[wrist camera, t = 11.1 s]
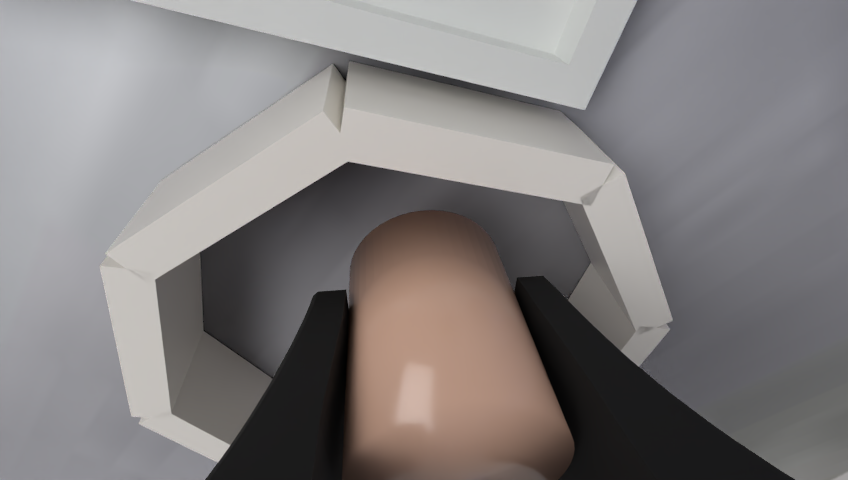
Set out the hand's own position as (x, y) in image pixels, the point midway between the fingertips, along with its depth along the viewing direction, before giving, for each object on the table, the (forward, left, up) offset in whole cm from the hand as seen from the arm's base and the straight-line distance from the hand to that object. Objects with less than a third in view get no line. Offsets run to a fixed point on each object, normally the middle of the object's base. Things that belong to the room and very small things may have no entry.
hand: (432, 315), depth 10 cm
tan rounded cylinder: (0, 0, -1) cm, 1 cm away
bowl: (0, +3, -3) cm, 4 cm away
